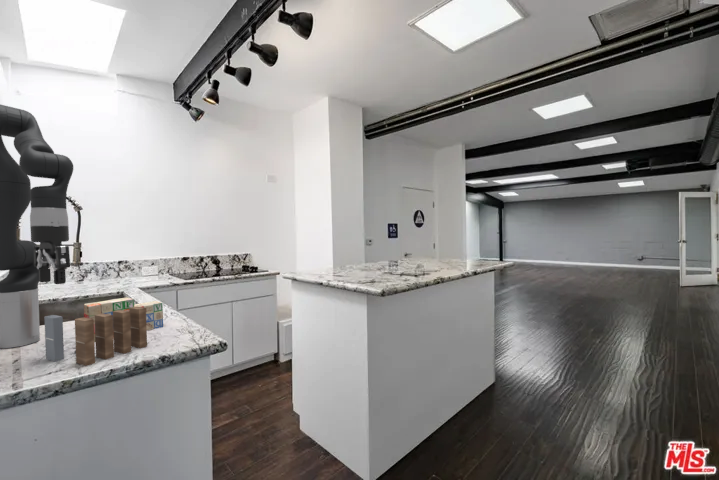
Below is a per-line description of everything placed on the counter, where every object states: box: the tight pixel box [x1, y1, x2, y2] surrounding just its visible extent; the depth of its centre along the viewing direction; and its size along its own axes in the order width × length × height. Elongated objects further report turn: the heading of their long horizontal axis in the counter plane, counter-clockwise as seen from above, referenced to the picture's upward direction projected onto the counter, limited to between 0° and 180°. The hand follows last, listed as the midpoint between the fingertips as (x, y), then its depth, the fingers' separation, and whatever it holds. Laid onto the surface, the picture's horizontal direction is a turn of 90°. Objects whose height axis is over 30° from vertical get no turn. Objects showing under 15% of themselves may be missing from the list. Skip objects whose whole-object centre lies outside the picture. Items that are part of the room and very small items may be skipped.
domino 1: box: [43, 314, 65, 362], centre depth 87 cm, size 2×5×12 cm, turn 65°
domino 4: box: [113, 310, 132, 355], centre depth 92 cm, size 2×5×12 cm, turn 65°
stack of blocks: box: [83, 297, 164, 344], centre depth 109 cm, size 21×6×12 cm, turn 143°
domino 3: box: [95, 313, 115, 360], centre depth 88 cm, size 2×5×12 cm, turn 65°
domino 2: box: [74, 316, 96, 367], centre depth 84 cm, size 2×5×12 cm, turn 65°
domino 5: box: [129, 306, 148, 349], centre depth 96 cm, size 2×5×12 cm, turn 65°
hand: (52, 282), depth 87 cm, fingers open, 8 cm apart
